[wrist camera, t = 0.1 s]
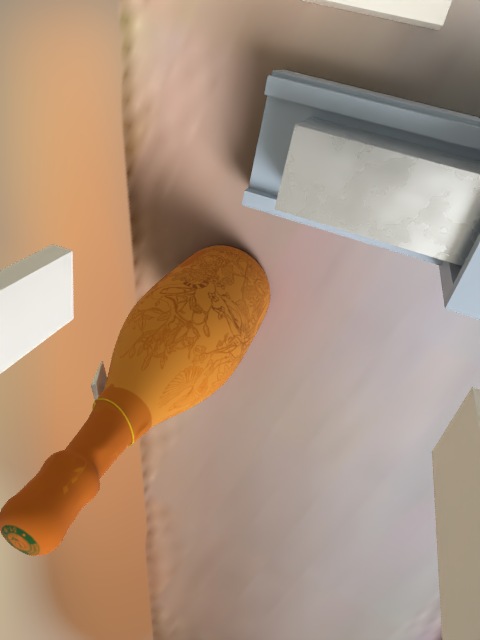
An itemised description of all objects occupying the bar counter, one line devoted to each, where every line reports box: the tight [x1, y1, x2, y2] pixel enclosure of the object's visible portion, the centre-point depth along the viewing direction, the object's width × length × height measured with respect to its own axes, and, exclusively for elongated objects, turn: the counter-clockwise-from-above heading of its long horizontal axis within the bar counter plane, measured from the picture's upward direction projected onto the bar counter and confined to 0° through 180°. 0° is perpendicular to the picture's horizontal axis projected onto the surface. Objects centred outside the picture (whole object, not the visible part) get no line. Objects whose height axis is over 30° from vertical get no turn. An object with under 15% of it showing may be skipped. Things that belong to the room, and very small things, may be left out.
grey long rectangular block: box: [275, 117, 480, 266], centre depth 30 cm, size 18×6×6 cm, turn 79°
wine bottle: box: [0, 245, 270, 556], centre depth 34 cm, size 10×10×30 cm
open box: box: [242, 70, 480, 320], centre depth 31 cm, size 10×22×12 cm, turn 78°
